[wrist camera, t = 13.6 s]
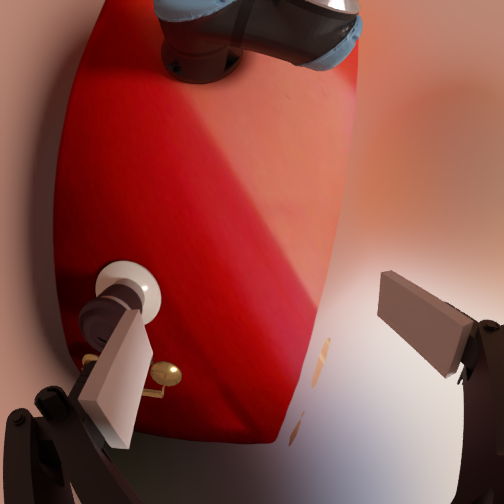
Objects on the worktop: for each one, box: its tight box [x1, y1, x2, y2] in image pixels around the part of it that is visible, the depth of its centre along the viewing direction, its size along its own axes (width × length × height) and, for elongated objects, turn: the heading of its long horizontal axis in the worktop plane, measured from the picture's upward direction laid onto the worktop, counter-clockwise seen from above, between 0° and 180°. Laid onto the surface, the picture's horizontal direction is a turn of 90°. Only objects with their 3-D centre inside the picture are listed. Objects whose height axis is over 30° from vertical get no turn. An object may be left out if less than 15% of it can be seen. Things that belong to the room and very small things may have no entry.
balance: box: [82, 353, 182, 398], centre depth 46 cm, size 6×24×15 cm, turn 96°
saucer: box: [96, 260, 161, 325], centre depth 49 cm, size 14×14×1 cm
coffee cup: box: [78, 279, 145, 353], centre depth 41 cm, size 10×10×15 cm
